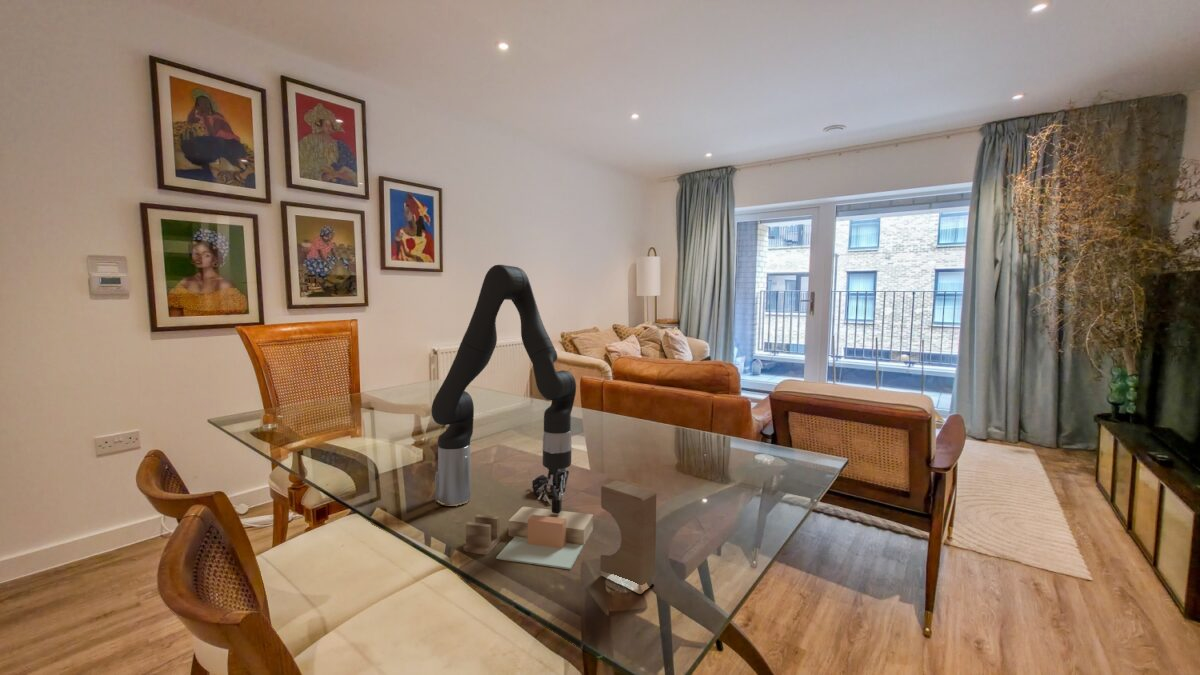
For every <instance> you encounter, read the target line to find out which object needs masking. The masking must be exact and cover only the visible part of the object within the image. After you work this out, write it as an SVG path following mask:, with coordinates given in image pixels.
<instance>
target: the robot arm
mask: <svg viewBox="0 0 1200 675" xmlns="http://www.w3.org/2000/svg"><path fill="white" fill-rule="evenodd" d="M505 300H506V301H508V300H509V301H510V300H511V302H512V303H513V305H514V306H515V308H516V310H517V313H518V315H519V319H520V334H521V335H520V336H521V340H522V344H523V347H524V349H525V352H526V353H527V355H528V357H529V360H530V362H531V363H532V368H533V375H534V378H535V383H536V387H537V390H538V391H539V393H540V395H541V396H542V398H544V399H546V400H547V401H551V404H550V405H549V406H548V408H546V409H545V410H544V412H543V435H542V466H543V467H544V468H546V469H547V470H548V472H547V475H546V477H547V480H548V485H547V484H545V485H544V490H545V492H546V495H547V497H548V499H552V501H551V510H552V513H557V514H559V513H560V512H561V511H562V509H563V508H562V506H563V505H562V502H563V501H562V500H563V499H562V498H563V497H564V493H565V492H566V489H567V488H566V487H567V482H568V478H569V474H570V472H569V470H566V469H567V468H569V467H570V466H571V465H572V432H571V426H572V425H571V422H572V421H571V420H572V419H571V418H572V417H571V416H572V415H571V413H572V410H573V408H574V402H575V398H576V394H577V382H576V379H575V377H574V375H573V374H572V372H570V371H568V370H558V371H556V368H555V364H554V363H555V362H556V361H557V360H558V352H557V350H556V348H555V346H554V345H553V342H552V340H551V338H550V336H549V334H548V332H547V330H546V327H545V325H544V324H543V320H542V318H541V315H540V311H539V308H538V305H537V302H536V298H535V295H534V293H533V289H532V285H531V282H530V280H529V277H528V274H527V273H526V272H525V270H523V269H522V268H520V267H518V266H514V265H512V266H511V265H506V264H495V265H493V266H492V267H490V268H489V270H488V271H487V273H486V274H485V276H484V280H483V282H482V284H481V288H480V291H479V296H478V298H477V302H476V305H475V308H474V311H473V313H472V316H471V319H470V321H469V324H468V327H467V328H466V331H465V332H464V335H463V337H462V340H461V341H460V344H459V347H458V349H457V352H456V355H455V357H454V359H453V361H452V364H451V366H450V368H449V370H448V373H447V375H446V376H445V379H444V381H443V383H442V384H441V386H440V388H439V390H438V391H437V393H436V395H435V396H434V399H433V401H432V404H431V416H432V419H433V421H434V422H435V423H436V424H437V425H440V426H447V425H448V427H446V429H445V431H444V432H443V433H441V434H440V435H439V436H438V439H437V440H438V441H437V459H438V460H437V461H438V462H437V463H438V465H437V466H438V468H437V469H438V470H437V471H435V478H434V480H435V500H436V499H437V500H439V501H440V502H442V503H445V504H449V505H453V504H454V505H455V504H459V503H463V502H465V501H467V500H469V499H470V500H471V495H472V494H471V439H472V437H473V432H474V416H475V415H474V412H475V408H474V402H473V399H472V398H473V397H472V396H471V395H470V393H468V392H467V391H465V390H466V389H467V387H469V385H470V384H471V383H472V382H473V381H474V380H475V379H476V378H477V377H478V376H479V375H480V374H481V372H483V370H484V369H485V368H486V367H487V366H488V365H489V362H490V361H491V358H492V355H493V354H494V351H495V349H496V346H497V342H498V336H497V335H498V334H497V333H498V332H497V325H496V324H497V323H496V322H497V316H498V313H499V311H500V308H502V307H501V306H502V305H503V303H504V301H505Z"/></svg>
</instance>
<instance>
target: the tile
mask: <svg viewBox="0 0 1200 675" xmlns="http://www.w3.org/2000/svg"><path fill="white" fill-rule="evenodd" d="M528 544H534V545H541V546H549V547H556V548H563V547H564V545H565V544H566V519H565V518H556V517H548V516H539V515H532V516H531V517H530V518H529V519H528Z"/></svg>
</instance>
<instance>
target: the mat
mask: <svg viewBox="0 0 1200 675" xmlns="http://www.w3.org/2000/svg"><path fill="white" fill-rule="evenodd" d="M583 548H584V546H583V545H579V544H571V543H566V544H565V545H564V547H563V548H556V547H549V546H541V545H534V544H528V538H525V537H518V536H515V537H514V536H513V538H512V539H511V540H510V541H509V542H508V544H506V546H504V548H503V549H502V550H501V551H500V553H499V554H497V556H496V558H495V559H497V560H502V561H509V562H515V563H516V562H517V563H522V564H530V565H536V566H537V565H538V566H542V567H543V566H544V567H550V568H556V569H565V570H571V569H572V568H573V566H574V564H575V562H576V560H577V559H578V557H579V555H580V553H581V551H582V550H583Z"/></svg>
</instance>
